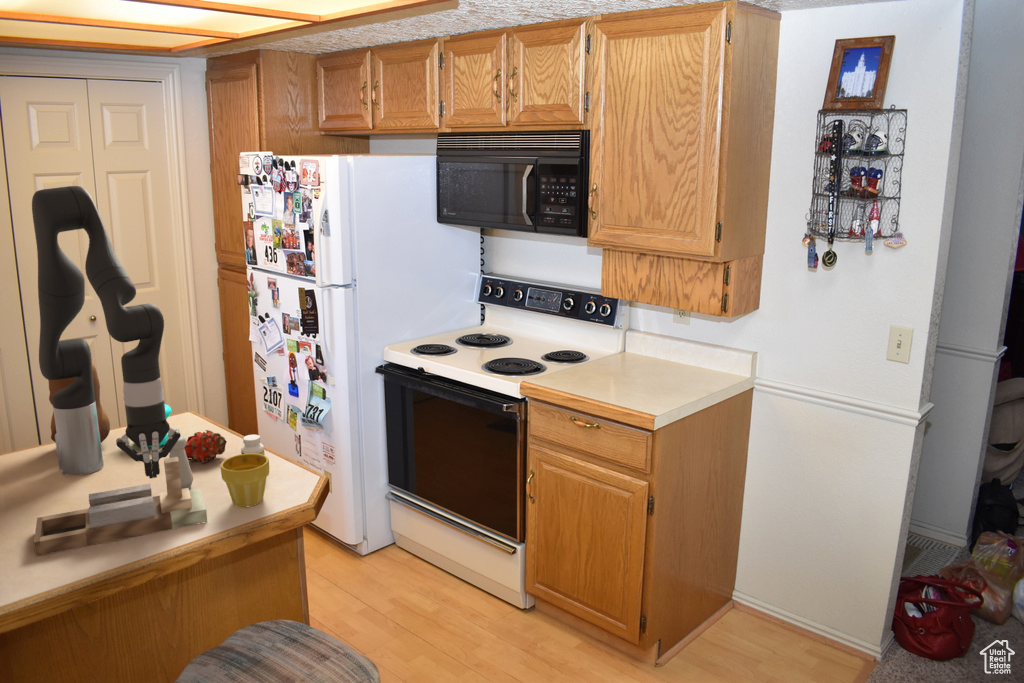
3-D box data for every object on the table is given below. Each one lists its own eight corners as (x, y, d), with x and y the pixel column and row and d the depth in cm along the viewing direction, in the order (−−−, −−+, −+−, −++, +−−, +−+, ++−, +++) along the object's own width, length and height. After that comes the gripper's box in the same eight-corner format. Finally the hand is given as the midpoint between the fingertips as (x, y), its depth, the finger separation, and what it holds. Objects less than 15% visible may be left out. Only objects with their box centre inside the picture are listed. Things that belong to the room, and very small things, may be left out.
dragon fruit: (232, 462, 206) (184, 476, 201) (225, 436, 210) (178, 450, 206) (228, 445, 199) (179, 459, 195) (221, 419, 204) (172, 432, 199)
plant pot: (252, 514, 173) (248, 473, 171) (214, 507, 177) (210, 466, 174) (280, 495, 183) (278, 456, 180) (244, 489, 186) (241, 450, 184)
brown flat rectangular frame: (36, 556, 155) (33, 542, 154) (39, 530, 165) (37, 517, 165) (207, 521, 170) (206, 509, 169) (200, 500, 180) (199, 488, 179)
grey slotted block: (91, 529, 160) (88, 513, 159) (90, 509, 169) (88, 494, 168) (155, 517, 165) (153, 501, 164) (151, 498, 174) (150, 483, 173)
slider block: (161, 513, 167) (156, 467, 165) (160, 502, 172) (155, 457, 170) (191, 507, 170) (187, 462, 167) (189, 496, 175) (185, 452, 172)
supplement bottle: (238, 476, 193) (235, 439, 191) (253, 468, 198) (250, 432, 196) (256, 480, 191) (253, 442, 189) (270, 471, 196) (267, 435, 194)
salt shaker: (184, 495, 182) (178, 443, 179) (162, 493, 184) (156, 441, 180) (199, 485, 188) (193, 434, 185) (177, 483, 189) (172, 432, 186)
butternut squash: (98, 435, 220) (87, 349, 214) (120, 447, 212) (109, 357, 206) (45, 449, 210) (32, 359, 204) (66, 462, 202) (53, 368, 196)
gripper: (109, 409, 158) (119, 489, 162) (180, 400, 164) (188, 477, 168) (108, 399, 164) (118, 476, 168) (176, 390, 170) (184, 465, 174)
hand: (153, 476), depth 168 cm, fingers closed
